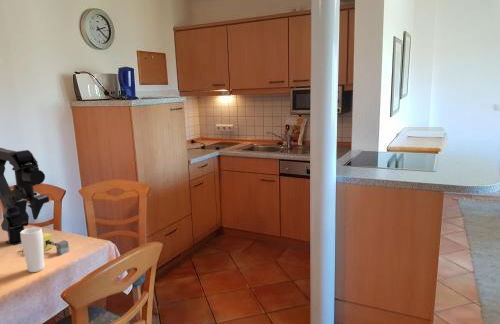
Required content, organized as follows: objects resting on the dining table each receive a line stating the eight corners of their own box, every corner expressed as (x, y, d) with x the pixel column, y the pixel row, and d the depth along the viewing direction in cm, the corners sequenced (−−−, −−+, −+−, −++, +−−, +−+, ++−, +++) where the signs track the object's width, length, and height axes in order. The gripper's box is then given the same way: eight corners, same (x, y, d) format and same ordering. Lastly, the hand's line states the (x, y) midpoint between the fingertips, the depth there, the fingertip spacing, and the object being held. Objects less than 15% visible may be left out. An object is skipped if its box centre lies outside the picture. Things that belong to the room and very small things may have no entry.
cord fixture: (27, 249, 149) (25, 239, 149) (39, 244, 154) (38, 234, 154) (59, 255, 143) (58, 245, 142) (71, 250, 148) (69, 240, 147)
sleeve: (36, 249, 148) (34, 236, 147) (45, 245, 152) (43, 232, 151) (43, 251, 147) (42, 238, 146) (53, 246, 151) (51, 234, 150)
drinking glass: (37, 274, 128) (31, 234, 125) (21, 273, 129) (15, 233, 127) (51, 265, 135) (46, 227, 132) (35, 264, 136) (30, 226, 133)
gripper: (-12, 184, 143) (-6, 222, 146) (21, 188, 136) (27, 228, 139) (15, 178, 153) (20, 213, 156) (47, 181, 146) (52, 218, 149)
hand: (29, 218), depth 150 cm, fingers open, 7 cm apart
